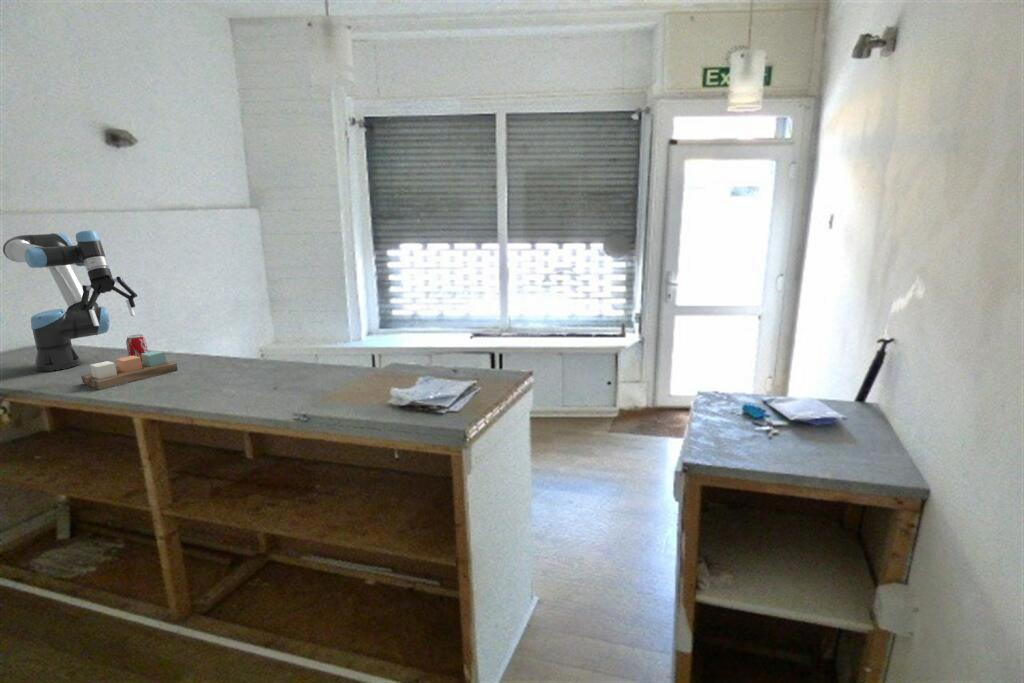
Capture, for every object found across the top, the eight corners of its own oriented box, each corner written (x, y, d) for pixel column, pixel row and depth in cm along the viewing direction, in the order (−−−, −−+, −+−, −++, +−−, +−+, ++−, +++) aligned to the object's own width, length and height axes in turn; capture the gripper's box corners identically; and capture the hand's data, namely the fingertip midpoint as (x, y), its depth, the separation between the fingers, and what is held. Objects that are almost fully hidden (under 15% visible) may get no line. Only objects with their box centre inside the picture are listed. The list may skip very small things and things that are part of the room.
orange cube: (118, 372, 227) (116, 359, 226) (135, 368, 232) (133, 355, 231) (126, 375, 224) (123, 361, 223) (142, 371, 229) (140, 357, 227)
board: (83, 383, 221) (81, 376, 220) (160, 365, 243) (158, 358, 243) (99, 389, 213) (98, 381, 213) (177, 370, 236) (176, 363, 235)
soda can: (143, 366, 243) (138, 337, 240) (126, 366, 243) (121, 338, 240) (153, 361, 250) (148, 333, 247) (137, 361, 250) (132, 334, 247)
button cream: (92, 378, 220) (89, 364, 219) (110, 374, 225) (107, 360, 223) (99, 381, 217) (96, 367, 215) (117, 377, 221) (114, 363, 220)
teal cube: (143, 367, 234) (141, 353, 233) (159, 363, 239) (156, 350, 238) (151, 369, 231) (148, 355, 230) (166, 365, 236) (164, 352, 235)
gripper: (58, 277, 226) (76, 329, 226) (127, 259, 231) (144, 310, 231) (69, 279, 233) (86, 330, 234) (135, 262, 238) (152, 312, 239)
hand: (115, 320), depth 233 cm, fingers open, 13 cm apart
